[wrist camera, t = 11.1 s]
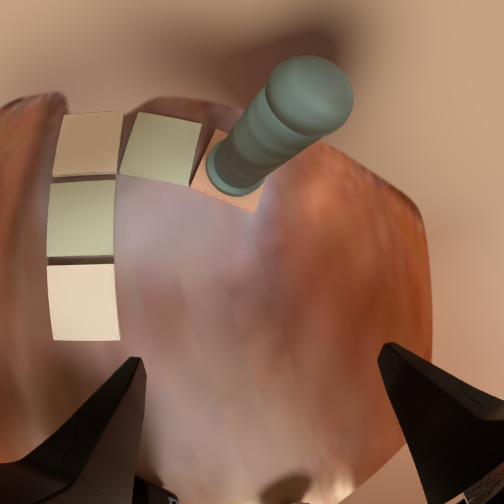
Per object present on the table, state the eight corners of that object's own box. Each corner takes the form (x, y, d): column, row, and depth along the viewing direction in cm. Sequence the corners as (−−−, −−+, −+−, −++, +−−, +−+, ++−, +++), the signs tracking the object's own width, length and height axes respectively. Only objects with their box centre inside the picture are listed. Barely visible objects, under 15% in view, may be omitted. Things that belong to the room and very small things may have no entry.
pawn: (218, 204, 21) (316, 125, 9) (197, 149, 21) (265, 30, 8) (270, 188, 23) (390, 120, 10) (250, 137, 22) (346, 40, 10)
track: (87, 372, 17) (85, 374, 16) (-26, 208, 14) (-29, 207, 13) (290, 180, 24) (293, 178, 23) (172, 54, 21) (173, 50, 20)
